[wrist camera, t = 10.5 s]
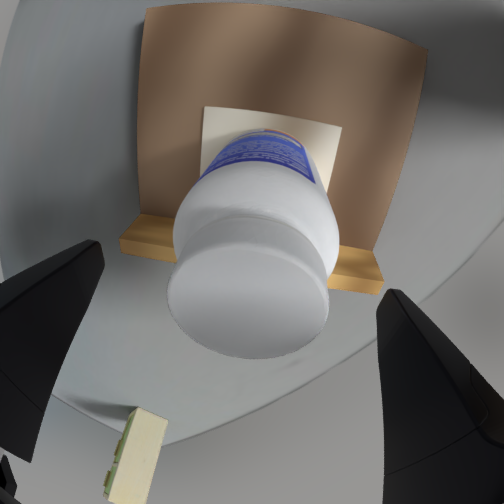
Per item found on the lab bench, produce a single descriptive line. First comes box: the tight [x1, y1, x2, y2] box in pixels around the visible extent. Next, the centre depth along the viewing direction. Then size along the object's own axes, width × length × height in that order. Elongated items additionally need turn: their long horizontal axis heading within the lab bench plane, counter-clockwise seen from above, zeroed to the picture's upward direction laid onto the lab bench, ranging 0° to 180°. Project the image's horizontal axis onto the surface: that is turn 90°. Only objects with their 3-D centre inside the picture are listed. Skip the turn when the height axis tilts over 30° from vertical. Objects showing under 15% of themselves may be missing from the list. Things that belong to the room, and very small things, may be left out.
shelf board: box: [119, 3, 428, 295], centre depth 13 cm, size 15×14×4 cm
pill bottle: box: [167, 128, 339, 359], centre depth 10 cm, size 5×5×10 cm
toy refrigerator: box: [103, 407, 168, 504], centre depth 36 cm, size 8×7×21 cm
